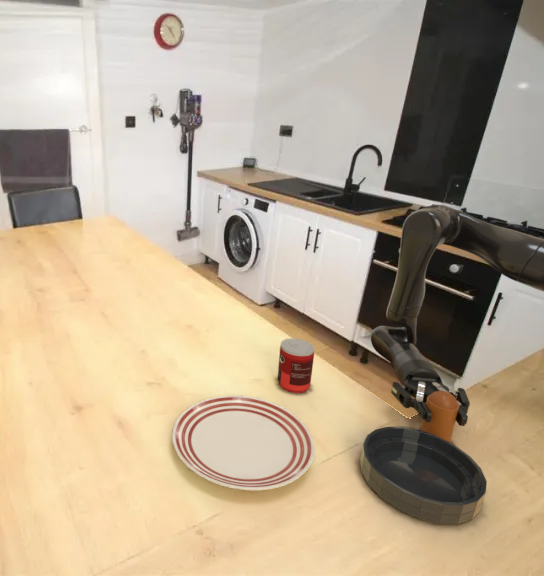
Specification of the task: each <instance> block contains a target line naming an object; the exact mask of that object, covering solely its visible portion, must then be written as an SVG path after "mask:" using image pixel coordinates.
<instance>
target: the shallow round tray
mask: <svg viewBox="0 0 544 576" xmlns="http://www.w3.org/2000/svg"><path fill="white" fill-rule="evenodd" d="M359 463H360V472H361V474H362V476H363V478H364V479H365V482H366V484H367V485H368V486H369V488H371V489H372V490H373V491H374V492H375V493H376V495H377V496H378V497H379V498H381V499H382V500H383V501H384V502H386V503H388V504H389V505H390V506H392V507H394V508H395V509H396V510H398V511H401V512H403V513H405V514H407V515H409V516H411V517H413V518H416V519H418V520H421V521H422V520H423V521H426V522H430V523H434V524H437V525H459V524H463V523H466V522H468V521H471V520H473V519H474V518H475V517H476V516H477V515H478V513H479V512H480V511H481V509H482V505H483V502H484V499H485V496H486V494H487V485H488V483H487V482H488V481H487V479H486V477H485V473H484V472H483V470H482V468H481V467H480V466H479V465H478V463H477V462H476V461H475V460H474V459H473V458H472V456H470V455H469V454H468V453H467V452H465V451H464V450H462V449H461V448H460V447H458V446H457V445H456V444H454V443H452V442H451V441H450V442H448V441H446V440H444V439H442V438H440V437H439V436H436V435H433V434H430V433H428V432H425V431H422V430H420V429H417V428H413V427H407V426H384V427H380V428H375V429H374V430H372V431H371V432H370V433H368V434H367V435H366V437H365V439H364V441H363V443H362V448H361V452H360V459H359Z"/></svg>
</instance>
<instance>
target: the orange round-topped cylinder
mask: <svg viewBox="0 0 544 576" xmlns="http://www.w3.org/2000/svg"><path fill="white" fill-rule="evenodd" d="M426 405H427V407H428V408H429V410H430V411H431V413H432V416H431V421H430V422H425V421H424V419H422V418H421V422H420V426H419V427H420V428H419V430H422V431H425V432H428V433H430V434H433V435H436V436H439V437H440V438H442V439H444V440H446V441H448V442H450V443H451V439H452V435H453V431H454V428H455V424H456V417H457V413H458V409H459V404H458V403H457V400H456V398H455V397H454V396H453V395H452V394H450V393H448V392H446V391H435V392H433V393H432V394H431V395H429V396H428V397H427V401H426Z"/></svg>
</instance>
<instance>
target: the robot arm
mask: <svg viewBox="0 0 544 576" xmlns="http://www.w3.org/2000/svg"><path fill="white" fill-rule="evenodd" d="M400 234H401V235H400V247H399V256H398V264H397V270H396V275H395V281H394V283H393V288H392V291H391V294H390V298H389V301H388V305H387V308H386V311H385V312H386V313H385V316H386V318H387V320H388V321H390V322H391V323H394V324H395V325H398V326H392V325H391V326H390V325H379V326H377V327H375V328H374V329H373V330H372V332H371V334H370V342H371V345H372V347H373V349H374V350H375V352H376V353H377V354H379V355H380V356H381V357H382V358H384V359H385V360H386V361H388V362H389V364H390V365H391V366H392V368H393V372H394V374H395V376H396V377H397V380H398V381H399V382H397V381H393V382H392V384H391V385H392V386H391V390H390V392H391V394H392V396H393V397H394V398H395V399H396V400H397V402H399V403H400V404H401V406H402V407H403V408H405V409H410V408H412V409H413V410H414V411H415V412H417V414H418V416H419V418H420V419H421V420H422V419H424V421H425V422H430V421H431V416H432V413H431V411H430V410H429V408H428V407H427V405H426V401H427V397H428V396H429V395H431V394H432V393H433V392H435V391H446V392H448V393H450V394H452V395H453V396H454V397H455V398H456V400H457V403H458V404H459V409H458V413H457V417H456V421H455V423H457V425H458V426H459V427H465V426H466V424H467V422H468V418H469V415H467V414H468V412H469V407H470V406H471V405H470V404H471V402H470V400H469V398H468V395H467V392H466V390H465V388H463V387H458V388H457V390H455V389H450V387H448V386H447V385H445V384H444V383H443V380H442V378H441V376H440V375H439V372H437V371H436V369H435V367H433V365H432V364H431V363H430V361H429V360H428V359H427V358H426V356H424V355H423V354H422V352H421V351H420V349H419V348H418V347H417V346H418V333H417V331H418V330H417V327H418V326H417V325H418V319H419V318H418V317H419V315H420V312H421V309H422V306H423V303H424V299H425V296H426V273H427V269H428V265H429V263H430V260H431V259H432V256H433V254H434V253H435V251H436V250H437V248H438V246H440V245H444V246H447V247H448V246H449V247H452V248H454V249H455V248H456V249H459V250H462V251H465V252H467V253H470V254H473V255H474V256H477V257H478V258H479V259H481V260H482V261H483V262H485V263H486V264H488V265H489V266H490V267H491V268H493V269H494V270H495V271H497V272H498V273H500V274H501V275H503V276H505V277H506V278H508V279H509V280H513V281H514V282H517V283H519V284H521V285H525V286H527V287H529V288H532V289H535V290H537V291H541V292H543V293H544V238H541V237H538V236H534V235H530V234H527V233H525V232H521V231H518V230H514V229H510V228H507V227H503V226H499V225H495V224H492V223H489V222H486V221H484V220H481V219H479V218H476V217H474V216H472V215H470V214H467V213H465V212H463V211H461V210H459V209H456V208H453V207H451V206H448V205H445V204H431V205H428V206H425V207H422V208H420V209H417V210H415V211H413V212H412V213H409V215H408V216H407V217H406V218H405V220H404V221H403V223H402V228H401V233H400ZM399 326H400V327H399Z"/></svg>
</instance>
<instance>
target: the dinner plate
mask: <svg viewBox="0 0 544 576" xmlns="http://www.w3.org/2000/svg"><path fill="white" fill-rule="evenodd" d="M171 435H172V437H171V439H172V444H173V448H174V450H175V452H176V454H177V456H178V457H179V459H180V461H182V463H183V464H184V465H185V467H187V468H188V469H189V470H191V471H192V472H193V473H195V474H196V475H197V476H200V477H201V478H202V479H205V480H206V481H209V482H211V483H213V484H216V485H218V486H222V487H225V488H230V489H234V490H240V491H269V490H272V489H277V488H281V487H285V486H287V485H289V484H291V483H293V482H295V481H297V480H298V479H300V478H301V477H302V476H304V475H305V473H306V472H308V470H309V468H310V467H311V465H312V463H313V462H314V458H315V453H316V446H315V445H316V444H315V440H314V437H313V435H312V433H311V431H310V430H309V428H308V427H307V425H306V424H305V423H304V422H303V421H302V420H301V418H299V417H298V415H295V413H293V412H292V411H290V410H289V409H286V408H285V407H283V406H281V405H280V404H277V403H274V402H271V401H269V400H266V399H262V398H259V397H254V396H249V395H234V394H233V395H232V394H231V395H218V396H214V397H209V398H207V399H203V400H200V401H198V402H196V403H193V404H192V405H190V406H189V407H187V408H186V409H185V410H184V411H183V412H181V413H180V415H179V416H178V417H177V419H176V421H175V422H174V425H173V428H172V434H171Z"/></svg>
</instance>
